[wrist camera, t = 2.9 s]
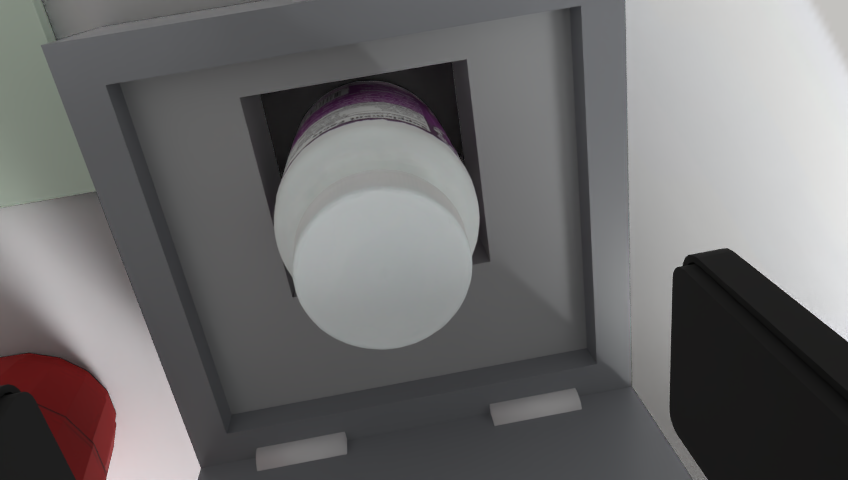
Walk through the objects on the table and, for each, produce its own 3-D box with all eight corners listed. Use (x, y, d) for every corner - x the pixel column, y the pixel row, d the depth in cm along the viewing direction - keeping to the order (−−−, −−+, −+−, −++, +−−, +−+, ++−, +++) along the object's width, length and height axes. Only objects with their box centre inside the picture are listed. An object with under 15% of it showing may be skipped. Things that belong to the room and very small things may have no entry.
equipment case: (569, -71, 21) (1526, -169, 4) (589, 340, 27) (982, 971, 10) (95, 6, 20) (-1172, 279, 3) (230, 407, 27) (29, 1190, 10)
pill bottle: (447, 218, 24) (503, 369, 16) (302, 229, 24) (276, 390, 15) (443, 70, 22) (506, 148, 13) (284, 79, 22) (241, 166, 13)
